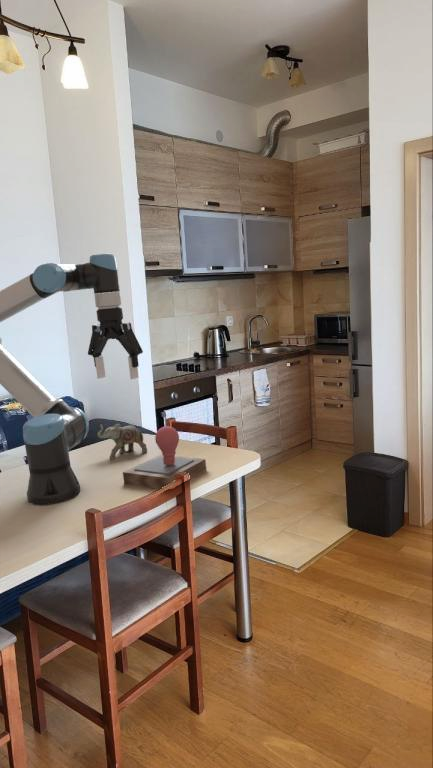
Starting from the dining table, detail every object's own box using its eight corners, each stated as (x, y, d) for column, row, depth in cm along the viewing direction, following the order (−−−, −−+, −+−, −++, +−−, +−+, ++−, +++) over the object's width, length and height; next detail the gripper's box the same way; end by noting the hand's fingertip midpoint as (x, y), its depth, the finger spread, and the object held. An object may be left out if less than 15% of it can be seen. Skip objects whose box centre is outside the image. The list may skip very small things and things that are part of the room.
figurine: (113, 461, 211) (99, 422, 210) (150, 449, 210) (136, 410, 209) (107, 467, 202) (92, 427, 200) (145, 454, 200) (131, 414, 199)
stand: (124, 483, 174) (122, 470, 173) (161, 465, 188) (160, 453, 188) (170, 490, 164) (169, 476, 163) (206, 470, 178) (205, 457, 178)
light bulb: (183, 460, 177) (179, 422, 175) (180, 467, 170) (175, 428, 168) (161, 462, 178) (156, 424, 176) (156, 469, 171) (151, 430, 169)
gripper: (149, 304, 166) (157, 376, 170) (88, 308, 180) (97, 375, 184) (131, 306, 160) (140, 381, 164) (70, 310, 174) (79, 379, 178)
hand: (117, 378), depth 174 cm, fingers open, 13 cm apart
